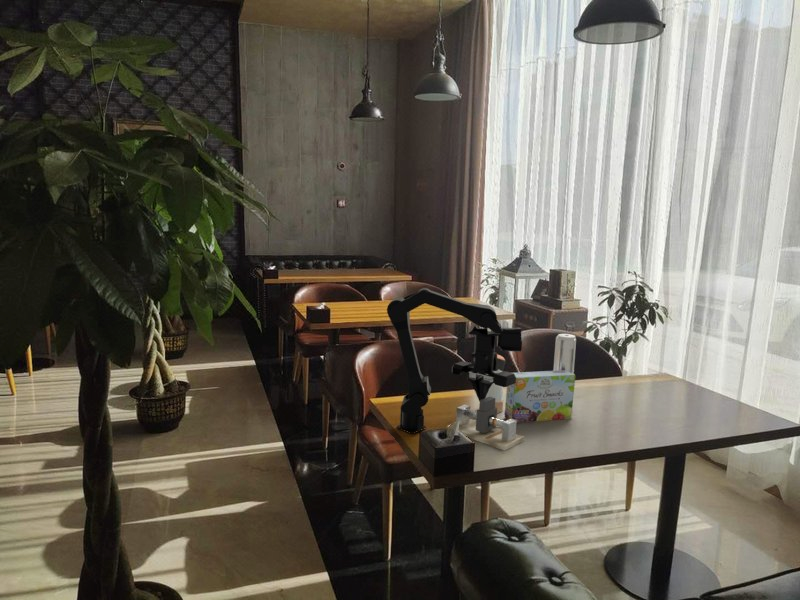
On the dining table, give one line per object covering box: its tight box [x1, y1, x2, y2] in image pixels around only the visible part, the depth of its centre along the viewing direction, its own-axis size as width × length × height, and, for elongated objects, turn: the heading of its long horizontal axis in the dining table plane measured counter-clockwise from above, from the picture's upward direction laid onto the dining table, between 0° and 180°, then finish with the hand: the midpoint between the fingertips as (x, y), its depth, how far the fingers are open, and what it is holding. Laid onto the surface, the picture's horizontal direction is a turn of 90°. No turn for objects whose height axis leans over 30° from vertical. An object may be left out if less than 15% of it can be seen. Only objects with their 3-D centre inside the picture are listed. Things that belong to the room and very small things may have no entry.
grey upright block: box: [475, 396, 498, 433], centre depth 163 cm, size 3×6×9 cm, turn 137°
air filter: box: [552, 333, 577, 374], centre depth 188 cm, size 6×6×25 cm
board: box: [446, 418, 525, 452], centre depth 164 cm, size 20×10×1 cm, turn 47°
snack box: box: [504, 370, 576, 424], centre depth 178 cm, size 21×6×15 cm, turn 106°
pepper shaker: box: [486, 354, 506, 414], centre depth 184 cm, size 7×7×19 cm
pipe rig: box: [455, 404, 518, 442], centre depth 163 cm, size 18×4×5 cm, turn 47°
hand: (481, 402), depth 164 cm, fingers closed
